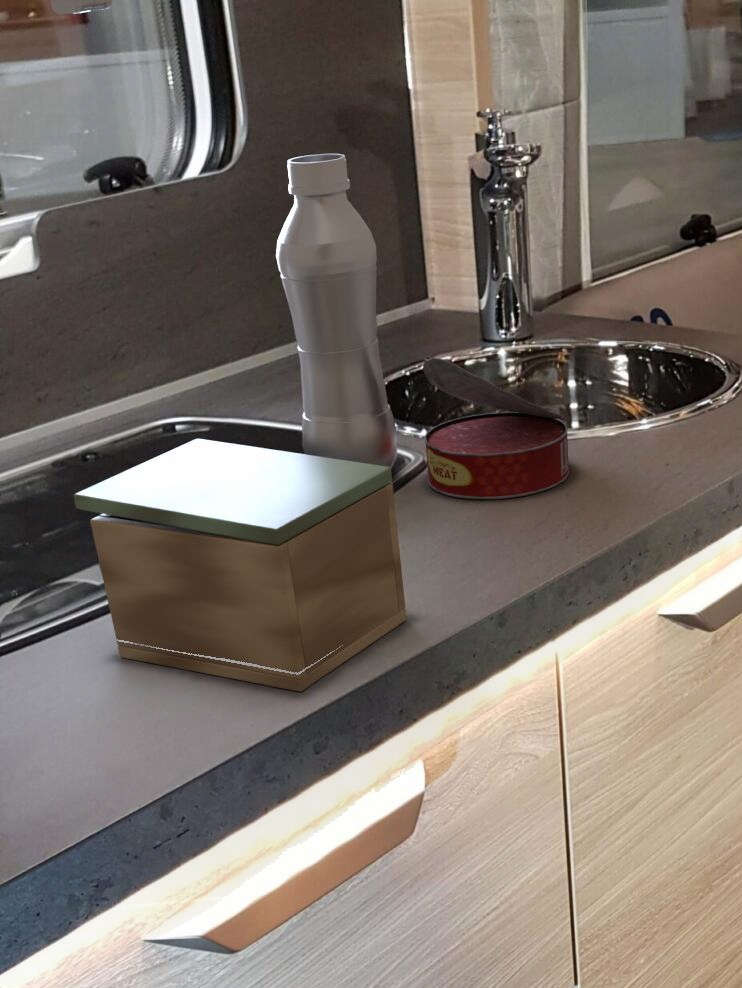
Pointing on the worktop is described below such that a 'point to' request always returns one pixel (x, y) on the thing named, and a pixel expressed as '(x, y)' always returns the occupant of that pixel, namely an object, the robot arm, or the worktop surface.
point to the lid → (235, 490)
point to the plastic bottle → (335, 316)
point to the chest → (254, 593)
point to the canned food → (493, 441)
